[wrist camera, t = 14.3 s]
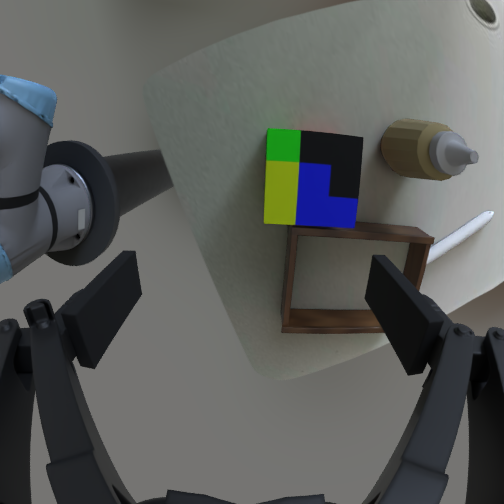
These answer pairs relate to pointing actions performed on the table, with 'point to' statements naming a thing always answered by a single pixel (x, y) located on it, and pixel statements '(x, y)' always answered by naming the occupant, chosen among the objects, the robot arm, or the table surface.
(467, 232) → the marker
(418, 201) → the table surface
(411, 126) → the squeeze bottle
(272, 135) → the puzzle toy
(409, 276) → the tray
